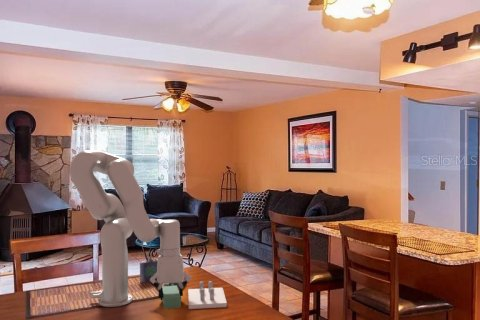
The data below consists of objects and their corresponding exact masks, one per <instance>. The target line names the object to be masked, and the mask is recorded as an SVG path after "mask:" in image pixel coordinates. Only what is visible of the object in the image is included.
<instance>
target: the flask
mask: <svg viewBox="0 0 480 320" xmlns="http://www.w3.org/2000/svg"><path fill="white" fill-rule="evenodd" d="M157 263H158V259H156V258H154V259H153V258H151V256H148V257H147V261H141V262H139V282H140V283H141V284H144V283H152V282H151V281H150V278H151V277H152V276H153V275H154V274H155V273H156V272H157ZM155 281H156V282H157V277H156V278H155Z"/></svg>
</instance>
